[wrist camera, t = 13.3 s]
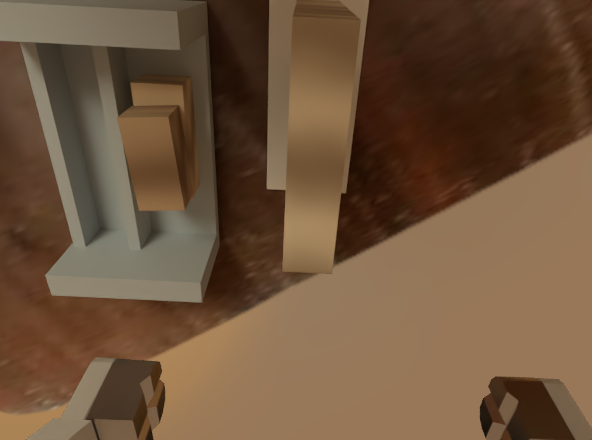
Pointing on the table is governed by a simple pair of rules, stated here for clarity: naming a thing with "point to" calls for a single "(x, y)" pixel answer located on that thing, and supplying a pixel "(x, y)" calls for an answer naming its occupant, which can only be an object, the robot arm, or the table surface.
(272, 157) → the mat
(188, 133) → the offcut
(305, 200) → the panel
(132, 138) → the offcut
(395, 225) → the table surface
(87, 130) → the rack
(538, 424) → the robot arm
